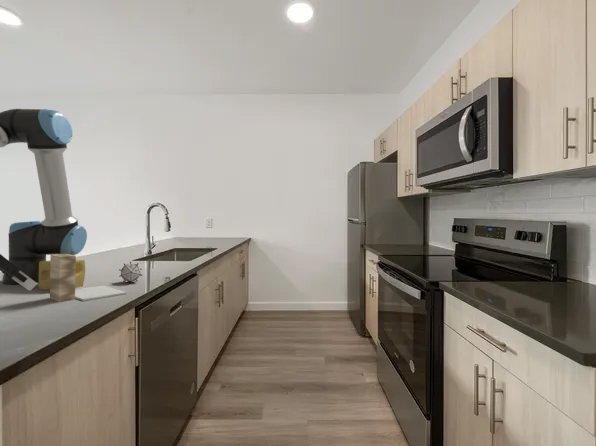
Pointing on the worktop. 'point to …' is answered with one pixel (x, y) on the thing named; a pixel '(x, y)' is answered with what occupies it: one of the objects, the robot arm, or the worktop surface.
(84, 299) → the rubber mat
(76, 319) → the worktop surface
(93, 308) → the worktop surface
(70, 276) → the maple block
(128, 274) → the game die
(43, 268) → the cheese
